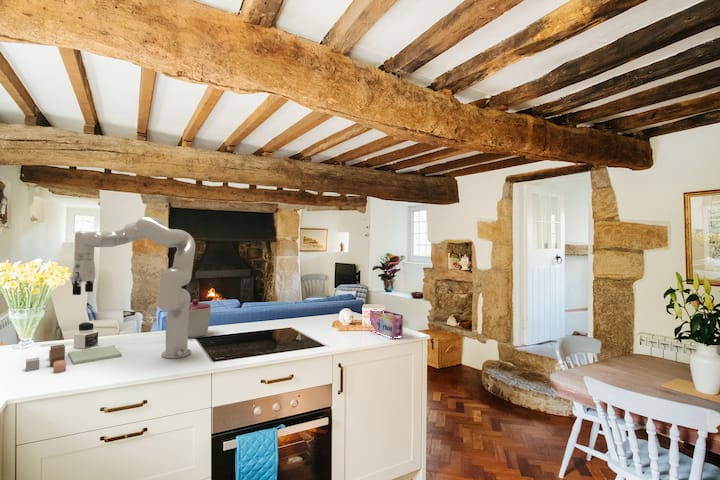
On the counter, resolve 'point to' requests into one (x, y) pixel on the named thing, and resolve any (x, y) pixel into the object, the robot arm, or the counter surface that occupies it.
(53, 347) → the walnut block
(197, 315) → the canister
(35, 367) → the stone cube
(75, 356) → the sage board
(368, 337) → the counter surface
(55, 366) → the terracotta cylinder
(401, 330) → the gum box
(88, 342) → the medicine bottle
